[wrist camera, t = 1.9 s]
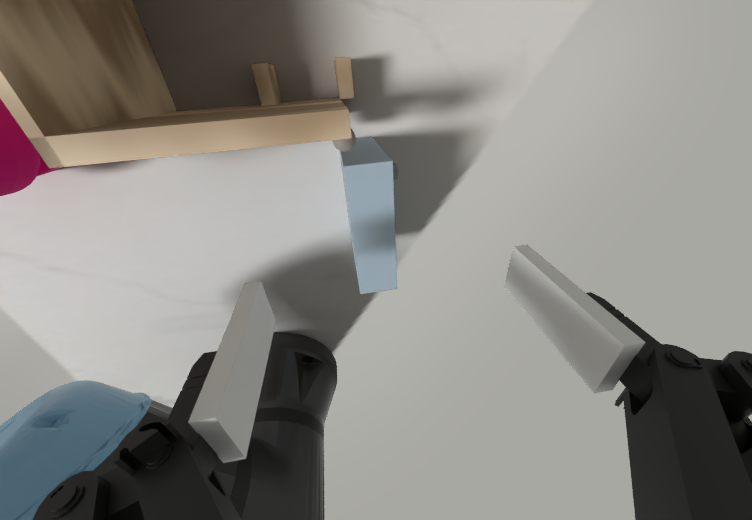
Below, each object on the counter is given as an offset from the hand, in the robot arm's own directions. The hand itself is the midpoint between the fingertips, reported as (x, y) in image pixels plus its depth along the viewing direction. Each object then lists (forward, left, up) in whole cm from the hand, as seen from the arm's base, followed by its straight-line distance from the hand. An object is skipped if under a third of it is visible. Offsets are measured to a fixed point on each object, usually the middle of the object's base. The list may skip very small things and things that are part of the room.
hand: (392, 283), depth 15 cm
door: (0, 0, -15) cm, 15 cm away
